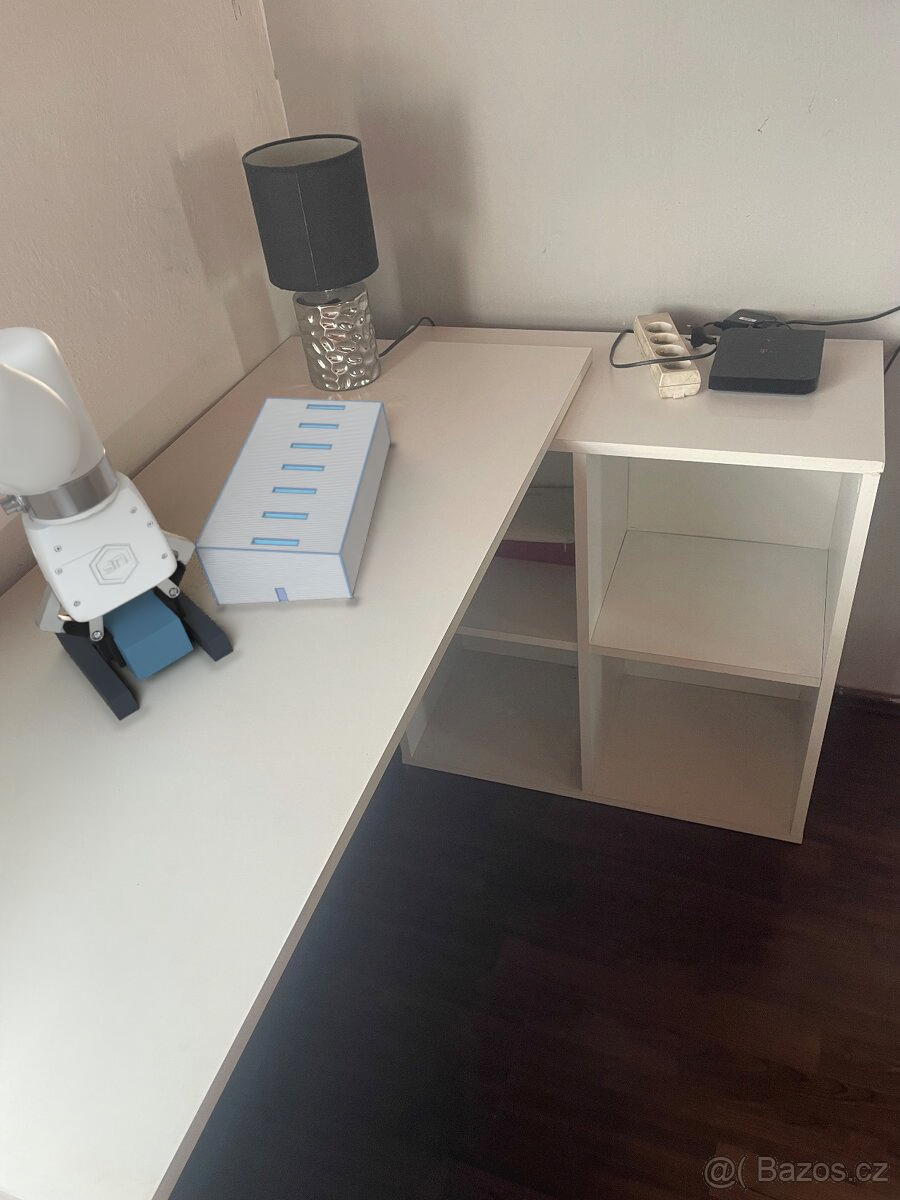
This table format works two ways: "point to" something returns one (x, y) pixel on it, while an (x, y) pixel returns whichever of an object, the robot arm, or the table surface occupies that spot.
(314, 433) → the warehouse
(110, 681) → the dark grey u-frame
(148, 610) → the blue rectangular block
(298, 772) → the table surface
